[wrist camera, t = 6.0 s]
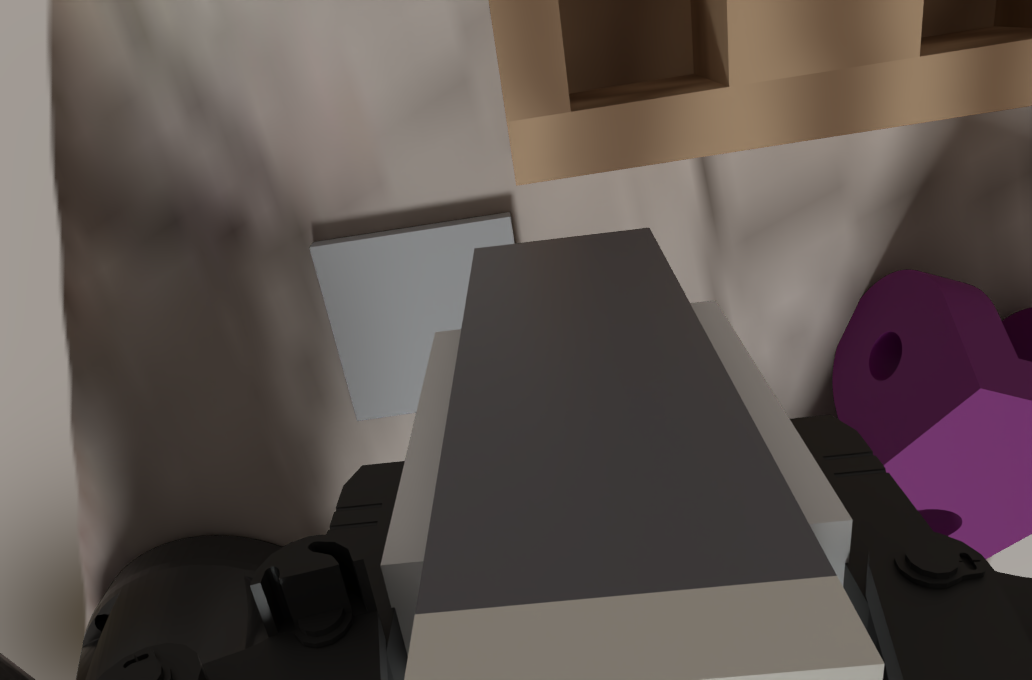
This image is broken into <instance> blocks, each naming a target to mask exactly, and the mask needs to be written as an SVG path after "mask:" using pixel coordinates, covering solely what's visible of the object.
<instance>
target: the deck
mask: <svg viewBox="0 0 1032 680" xmlns="http://www.w3.org/2000/svg"><path fill="white" fill-rule="evenodd" d="M508 244H515V241H514V235H513V228H512V222H511V216H510V212H506V213H500V214H493V215H487V216H480V217H474V218H467V219H461V220H454V221H448V222H441V223H435V224H428V225H422V226H415V227H409V228H402V229H396V230H389V231H383V232H376V233H370V234H363V235H357V236H350V237H344V238H337V239H331V240H324V241H318V242H313V243H312V245H311V246H310V247H309V248H310V252H311V255H312V259H313V263H314V266H315V270H316V274H317V277H318V281H319V284H320V288H321V292H322V295H323V299H324V302H325V306H326V310H327V313H328V317H329V321H330V324H331V328H332V331H333V335H334V339H335V342H336V346H337V350H338V353H339V357H340V360H341V364H342V368H343V371H344V375H345V379H346V382H347V386H348V389H349V393H350V397H351V400H352V404H353V408H354V411H355V415H356V418H357V421H361V420H368V419H375V418H382V417H389V416H396V415H403V414H410V413H416V412H417V407H418V403H419V399H420V395H421V390H422V386H423V382H424V378H425V373H426V369H427V365H428V361H429V356H430V352H431V348H432V344H433V339H434V335H435V332H440V331H449V330H458V329H461V328H462V321H463V315H464V309H465V303H466V297H467V291H468V285H469V278H470V272H471V266H472V260H473V254H474V248H482V247H491V246H499V245H508Z"/></svg>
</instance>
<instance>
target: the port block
mask: <svg viewBox="0 0 1032 680" xmlns="http://www.w3.org/2000/svg"><path fill="white" fill-rule="evenodd" d="M489 6H490V13H491V19H492V26H493V33H494V39H495V46H496V53H497V59H498V66H499V73H500V79H501V86H502V93H503V99H504V106H505V113H506V119H507V126H508V133H509V139H510V146H511V153H512V159H513V166H514V173H515V179H516V186H517V185H524V184H530V183H536V182H543V181H549V180H556V179H562V178H569V177H575V176H582V175H588V174H595V173H601V172H607V171H614V170H620V169H627V168H633V167H640V166H646V165H653V164H659V163H666V162H672V161H678V160H685V159H691V158H698V157H704V156H711V155H717V154H724V153H730V152H737V151H743V150H750V149H756V148H762V147H769V146H775V145H782V144H788V143H795V142H801V141H808V140H814V139H821V138H827V137H833V136H840V135H846V134H853V133H859V132H866V131H872V130H879V129H885V128H892V127H898V126H904V125H911V124H917V123H924V122H930V121H937V120H943V119H950V118H956V117H963V116H969V115H975V114H982V113H988V112H995V111H1001V110H1008V109H1014V108H1021V107H1027V106H1032V0H489Z"/></svg>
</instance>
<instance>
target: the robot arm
mask: <svg viewBox="0 0 1032 680" xmlns="http://www.w3.org/2000/svg"><path fill="white" fill-rule="evenodd" d="M690 304H691V306H692V308H693V310H694V312H695V313H696V315H697V317H698V319H699V321H700V323H701V325H702V326H703V328H704V330H705V332H706V334H707V336H708V338H709V339H710V341H711V343H712V345H713V347H714V349H715V351H716V352H717V354H718V356H719V358H720V360H721V362H722V363H723V365H724V367H725V369H726V371H727V373H728V375H729V376H730V378H731V380H732V382H733V384H734V386H735V388H736V389H737V391H738V393H739V395H740V397H741V399H742V401H743V402H744V404H745V406H746V408H747V410H748V412H749V414H750V415H751V417H752V419H753V421H754V423H755V425H756V426H757V428H758V430H759V432H760V434H761V436H762V438H763V439H764V441H765V443H766V445H767V447H768V449H769V451H770V452H771V454H772V456H773V458H774V460H775V462H776V464H777V465H778V467H779V469H780V471H781V473H782V475H783V477H784V478H785V480H786V482H787V484H788V486H789V488H790V489H791V491H792V493H793V495H794V497H795V499H796V501H797V502H798V504H799V506H800V508H801V510H802V512H803V514H804V515H805V517H806V519H807V521H808V523H809V525H810V527H811V528H812V530H813V532H814V534H815V536H816V538H817V540H818V541H819V543H820V545H821V547H822V549H823V551H824V552H825V554H826V556H827V558H828V560H829V562H830V564H831V565H832V567H833V569H834V571H835V573H836V575H837V577H838V578H839V580H840V582H841V584H842V586H843V588H844V590H845V591H846V593H847V595H848V597H849V599H850V601H851V603H852V604H853V606H854V608H855V610H856V612H857V614H858V615H859V617H860V619H861V621H862V623H863V625H864V627H865V628H866V630H867V632H868V634H869V636H870V638H871V640H872V641H873V643H874V645H875V647H876V649H877V651H878V653H879V654H880V656H881V658H882V660H883V662H884V664H885V665H884V673H883V680H1032V578H1026V577H1020V576H1015V575H1010V574H1005V573H1000V572H997V571H994V569H993V568H992V567H991V566H990V564H989V563H988V562H987V561H986V559H985V558H984V557H983V556H982V554H980V553H979V552H977V551H976V550H974V549H973V548H971V547H970V546H968V545H967V544H965V543H964V542H962V541H959V540H957V539H954V538H951V537H949V536H946V535H943V534H941V533H936V532H934V531H933V530H932V529H931V527H930V526H929V525H928V524H927V522H926V521H925V520H924V518H923V517H922V516H921V514H920V513H919V512H918V510H917V509H916V508H915V506H914V505H913V504H912V502H911V501H910V500H909V498H908V497H907V496H906V494H905V493H904V492H903V491H902V489H901V488H900V487H899V485H898V484H897V483H896V481H895V480H894V479H893V477H892V476H891V475H890V473H886V468H885V467H884V465H883V464H882V463H881V462H880V460H879V459H878V458H877V456H876V455H873V451H872V450H871V448H870V447H869V446H868V444H867V443H866V442H865V440H864V439H863V438H862V436H861V435H860V434H859V433H858V431H857V430H855V429H853V428H852V427H850V426H848V425H847V424H845V423H843V422H842V421H840V420H839V419H837V418H835V417H834V416H832V415H824V416H814V417H804V418H795V419H789V417H788V416H787V414H786V412H785V411H784V409H783V408H782V406H781V404H780V403H779V401H778V400H777V398H776V396H775V395H774V393H773V392H772V390H771V388H770V387H769V385H768V384H767V382H766V380H765V379H764V377H763V376H762V374H761V372H760V371H759V369H758V368H757V366H756V364H755V363H754V361H753V360H752V358H751V356H750V355H749V353H748V352H747V350H746V348H745V347H744V345H743V344H742V342H741V340H740V339H739V337H738V336H737V334H736V332H735V331H734V329H733V327H732V326H731V324H730V323H729V321H728V319H727V318H726V316H725V315H724V313H723V311H722V310H721V308H720V307H719V305H718V303H717V302H716V300H715V301H706V302H697V303H690ZM460 334H461V329H458V330H449V331H440V332H435V335H434V339H433V344H432V348H431V352H430V356H429V361H428V365H427V369H426V373H425V378H424V382H423V386H422V390H421V395H420V399H419V403H418V407H417V412H416V416H415V420H414V424H413V429H412V433H411V437H410V441H409V446H408V450H407V454H406V458H405V461H401V462H391V463H382V464H372V465H362V466H361V467H360V469H359V470H358V471H357V472H356V473H355V474H354V475H353V476H352V477H351V478H350V479H349V480H348V481H347V483H346V484H345V485H344V486H343V489H342V492H341V494H340V497H339V500H338V503H337V506H336V512H334V515H333V518H332V520H331V523H330V530H328V532H327V534H326V535H317V536H309V537H306V538H303V539H300V540H298V541H295V542H292V543H289V544H287V545H286V546H284V547H283V548H282V547H280V546H277V545H274V544H270V543H267V542H263V541H259V540H254V539H249V538H243V537H234V536H202V537H193V538H187V539H182V540H178V541H174V542H170V543H167V544H164V545H162V546H159V547H157V548H154V549H152V550H150V551H148V552H146V553H145V554H143V555H141V556H139V557H138V558H137V559H135V560H134V561H132V562H131V563H130V564H129V565H128V566H126V567H125V568H124V569H123V570H122V571H121V572H120V573H119V575H118V576H117V577H116V578H115V580H114V581H113V583H112V584H111V586H110V587H109V589H108V590H107V592H106V593H105V595H104V597H103V598H102V600H101V601H100V603H99V604H98V606H97V607H96V609H95V611H94V613H93V614H92V616H91V619H90V621H89V624H88V626H87V629H86V632H85V636H84V640H83V647H82V651H81V655H80V661H79V665H78V671H77V676H76V680H404V677H405V671H406V665H407V659H408V653H409V647H410V641H411V635H412V628H413V622H414V616H415V610H416V604H417V598H418V592H419V585H420V579H421V573H422V567H423V561H424V555H425V549H426V542H427V536H428V530H429V524H430V518H431V512H432V506H433V499H434V493H435V487H436V481H437V475H438V469H439V463H440V456H441V450H442V444H443V438H444V432H445V426H446V420H447V413H448V407H449V401H450V395H451V389H452V383H453V377H454V371H455V364H456V358H457V352H458V346H459V340H460ZM0 680H35V679H34V678H33V677H31V676H30V675H29V674H27V673H26V672H25V671H23V670H22V669H21V668H20V667H18V666H17V665H16V664H14V663H13V662H12V661H10V660H9V659H8V658H6V657H5V656H4V655H2V654H1V653H0Z"/></svg>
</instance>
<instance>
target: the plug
mask: <svg viewBox="0 0 1032 680" xmlns="http://www.w3.org/2000/svg"><path fill="white" fill-rule="evenodd" d="M884 665H885V664H884V662H883V660H882V658H881V656H880V654H879V653H878V651H877V649H876V647H875V645H874V643H873V641H872V640H871V638H870V636H869V634H868V632H867V630H866V628H865V627H864V625H863V623H862V621H861V619H860V617H859V615H858V614H857V612H856V610H855V608H854V606H853V604H852V603H851V601H850V599H849V597H848V595H847V593H846V591H845V590H844V588H843V586H842V584H841V582H840V580H839V578H838V577H837V575H836V573H835V571H834V569H833V567H832V565H831V564H830V562H829V560H828V558H827V556H826V554H825V552H824V551H823V549H822V547H821V545H820V543H819V541H818V540H817V538H816V536H815V534H814V532H813V530H812V528H811V527H810V525H809V523H808V521H807V519H806V517H805V515H804V514H803V512H802V510H801V508H800V506H799V504H798V502H797V501H796V499H795V497H794V495H793V493H792V491H791V489H790V488H789V486H788V484H787V482H786V480H785V478H784V477H783V475H782V473H781V471H780V469H779V467H778V465H777V464H776V462H775V460H774V458H773V456H772V454H771V452H770V451H769V449H768V447H767V445H766V443H765V441H764V439H763V438H762V436H761V434H760V432H759V430H758V428H757V426H756V425H755V423H754V421H753V419H752V417H751V415H750V414H749V412H748V410H747V408H746V406H745V404H744V402H743V401H742V399H741V397H740V395H739V393H738V391H737V389H736V388H735V386H734V384H733V382H732V380H731V378H730V376H729V375H728V373H727V371H726V369H725V367H724V365H723V363H722V362H721V360H720V358H719V356H718V354H717V352H716V351H715V349H714V347H713V345H712V343H711V341H710V339H709V338H708V336H707V334H706V332H705V330H704V328H703V326H702V325H701V323H700V321H699V319H698V317H697V315H696V313H695V312H694V310H693V308H692V306H691V304H690V302H689V300H688V299H687V297H686V295H685V293H684V291H683V289H682V288H681V286H680V284H679V282H678V280H677V278H676V276H675V275H674V273H673V271H672V269H671V267H670V265H669V263H668V262H667V260H666V258H665V256H664V254H663V252H662V250H661V249H660V247H659V245H658V243H657V241H656V239H655V237H654V236H653V234H652V232H651V230H650V228H642V229H634V230H626V231H617V232H609V233H600V234H592V235H583V236H575V237H567V238H558V239H550V240H541V241H533V242H524V243H516V244H508V245H499V246H491V247H482V248H474V254H473V260H472V266H471V272H470V278H469V285H468V291H467V297H466V303H465V309H464V315H463V321H462V328H461V334H460V340H459V346H458V352H457V358H456V364H455V371H454V377H453V383H452V389H451V395H450V401H449V407H448V413H447V420H446V426H445V432H444V438H443V444H442V450H441V456H440V463H439V469H438V475H437V481H436V487H435V493H434V499H433V506H432V512H431V518H430V524H429V530H428V536H427V542H426V549H425V555H424V561H423V567H422V573H421V579H420V585H419V592H418V598H417V604H416V610H415V616H414V622H413V628H412V635H411V641H410V647H409V653H408V659H407V665H406V671H405V677H404V680H883V673H884Z"/></svg>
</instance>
